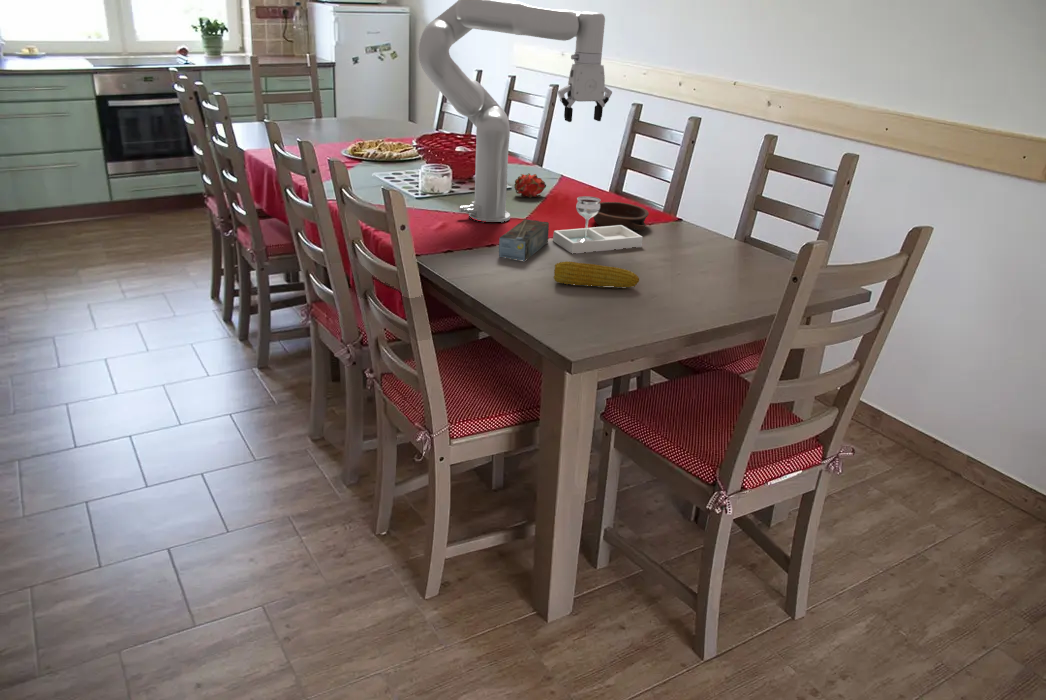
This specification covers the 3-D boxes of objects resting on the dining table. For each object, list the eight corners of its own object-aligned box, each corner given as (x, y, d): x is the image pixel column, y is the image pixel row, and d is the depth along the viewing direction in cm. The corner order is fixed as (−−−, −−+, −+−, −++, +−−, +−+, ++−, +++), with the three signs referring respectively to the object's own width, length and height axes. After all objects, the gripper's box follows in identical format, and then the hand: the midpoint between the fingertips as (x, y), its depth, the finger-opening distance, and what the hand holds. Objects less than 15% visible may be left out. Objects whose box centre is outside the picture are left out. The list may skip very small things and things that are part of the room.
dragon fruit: (509, 201, 277) (541, 204, 283) (520, 192, 270) (553, 195, 275) (507, 177, 279) (539, 181, 284) (518, 167, 271) (551, 171, 277)
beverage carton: (496, 258, 221) (497, 234, 218) (522, 239, 237) (524, 216, 234) (524, 263, 218) (526, 239, 215) (549, 243, 235) (550, 220, 232)
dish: (619, 238, 242) (621, 222, 240) (573, 218, 258) (574, 203, 256) (663, 231, 251) (665, 215, 249) (616, 212, 268) (617, 197, 265)
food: (553, 287, 203) (554, 264, 200) (553, 279, 208) (554, 257, 205) (639, 293, 203) (641, 270, 200) (636, 284, 208) (639, 262, 206)
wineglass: (570, 242, 232) (573, 200, 227) (577, 236, 238) (580, 195, 233) (593, 246, 230) (597, 203, 225) (600, 239, 236) (603, 198, 231)
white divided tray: (572, 253, 227) (572, 243, 225) (553, 240, 236) (553, 230, 235) (641, 246, 236) (642, 236, 234) (620, 234, 245) (621, 224, 244)
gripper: (567, 60, 228) (562, 124, 235) (621, 61, 235) (614, 122, 242) (554, 57, 234) (550, 119, 241) (607, 57, 241) (602, 117, 248)
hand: (582, 120), depth 242 cm, fingers open, 9 cm apart
